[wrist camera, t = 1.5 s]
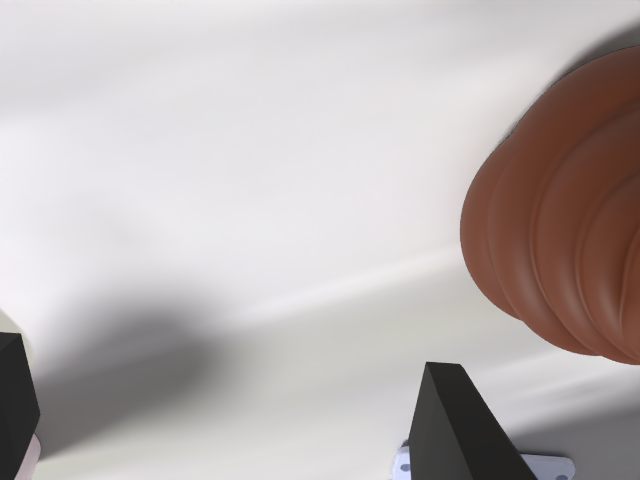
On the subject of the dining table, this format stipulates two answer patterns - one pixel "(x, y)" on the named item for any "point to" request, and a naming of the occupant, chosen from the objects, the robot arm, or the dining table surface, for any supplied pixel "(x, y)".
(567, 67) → the dining table surface
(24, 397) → the robot arm
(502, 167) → the poop emoji
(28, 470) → the smoothie
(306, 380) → the dining table surface
